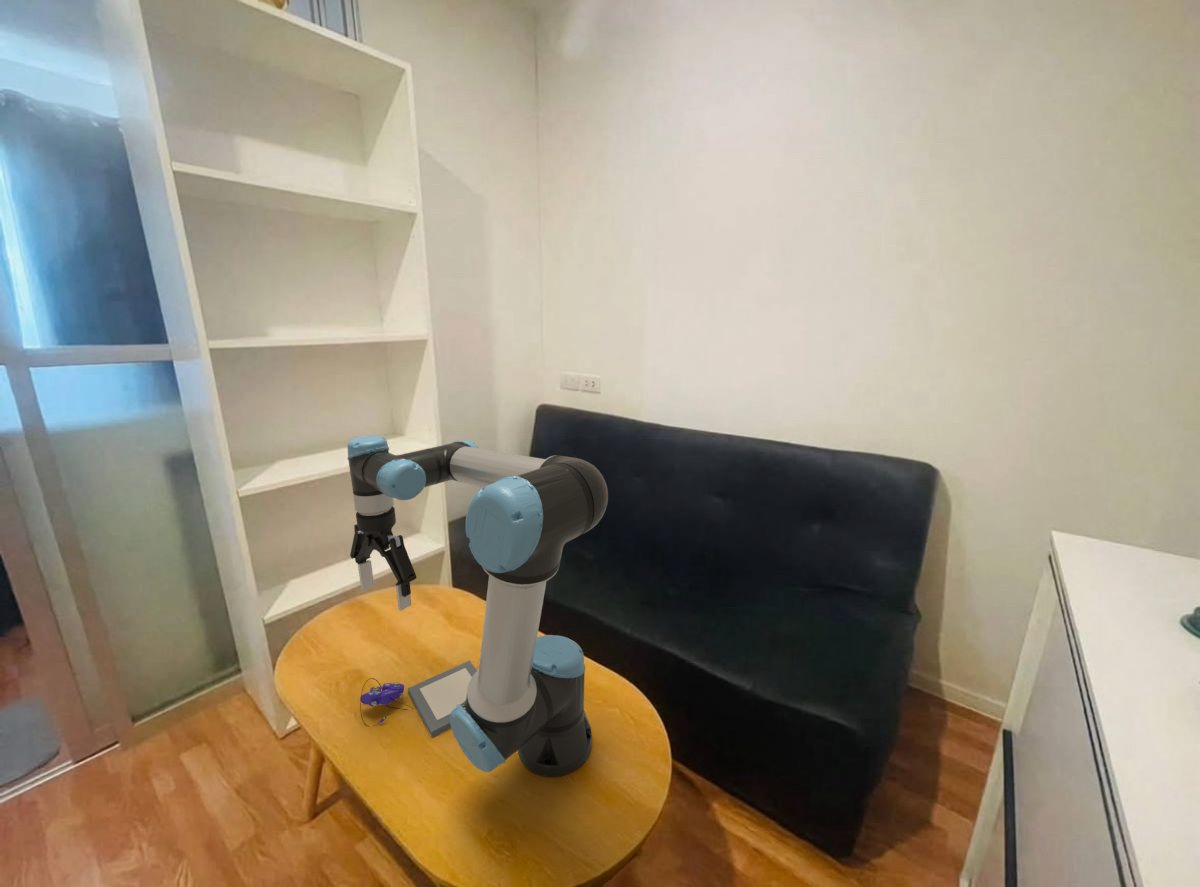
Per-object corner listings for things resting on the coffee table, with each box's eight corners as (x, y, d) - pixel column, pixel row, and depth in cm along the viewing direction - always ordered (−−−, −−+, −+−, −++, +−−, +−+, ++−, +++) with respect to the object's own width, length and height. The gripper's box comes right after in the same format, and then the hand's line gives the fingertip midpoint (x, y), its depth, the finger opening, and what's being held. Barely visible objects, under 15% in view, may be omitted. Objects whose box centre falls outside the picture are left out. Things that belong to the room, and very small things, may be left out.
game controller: (393, 668, 114) (416, 680, 108) (390, 704, 114) (413, 719, 107) (350, 679, 107) (372, 693, 100) (346, 718, 106) (368, 735, 100)
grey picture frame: (497, 703, 109) (497, 697, 109) (431, 737, 100) (431, 731, 100) (470, 665, 121) (469, 659, 120) (408, 693, 112) (407, 687, 111)
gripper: (428, 516, 99) (436, 607, 105) (357, 491, 112) (368, 573, 118) (396, 529, 93) (406, 625, 99) (325, 501, 106) (338, 587, 112)
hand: (385, 597), depth 108 cm, fingers open, 13 cm apart
